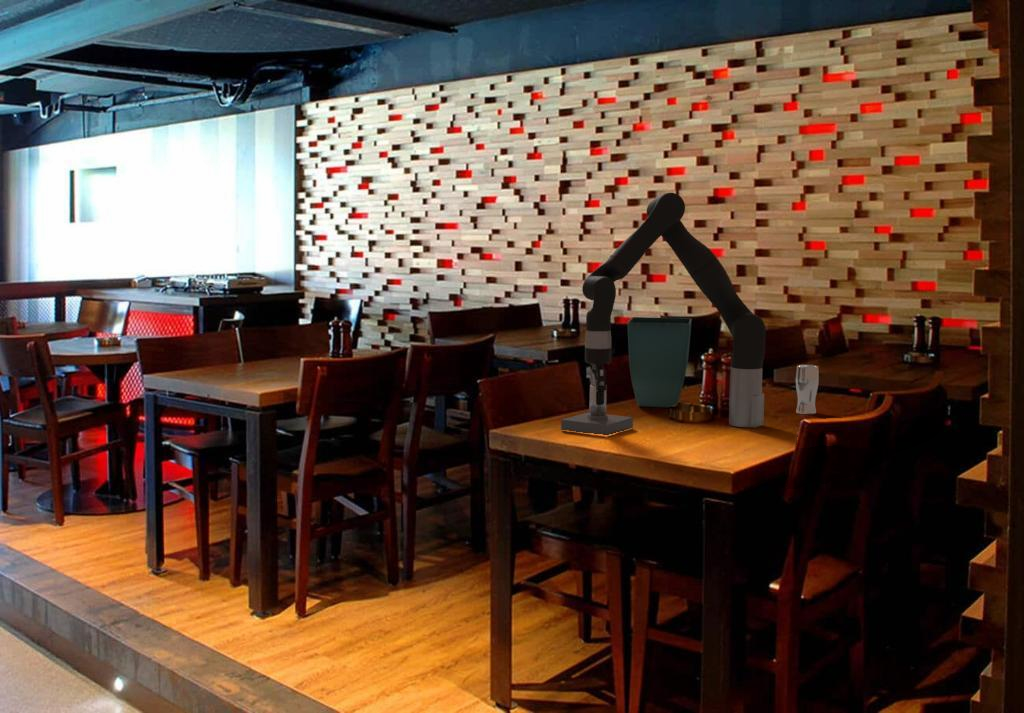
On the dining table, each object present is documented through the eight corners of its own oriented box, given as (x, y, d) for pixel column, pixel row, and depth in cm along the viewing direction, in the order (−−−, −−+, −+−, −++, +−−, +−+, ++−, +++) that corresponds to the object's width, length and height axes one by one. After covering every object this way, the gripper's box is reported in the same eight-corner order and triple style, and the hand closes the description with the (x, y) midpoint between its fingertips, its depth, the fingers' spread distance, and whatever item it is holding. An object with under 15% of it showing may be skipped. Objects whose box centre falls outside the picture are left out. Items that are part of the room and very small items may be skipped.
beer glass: (815, 411, 327) (816, 364, 325) (819, 414, 320) (821, 367, 319) (792, 410, 328) (794, 364, 326) (796, 414, 321) (798, 367, 319)
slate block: (632, 431, 296) (632, 417, 295) (606, 439, 284) (606, 425, 283) (588, 425, 304) (588, 412, 304) (561, 433, 292) (561, 419, 292)
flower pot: (688, 410, 327) (690, 322, 324) (625, 408, 331) (627, 321, 328) (689, 401, 347) (691, 318, 343) (631, 399, 351) (632, 317, 347)
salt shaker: (607, 419, 291) (608, 381, 290) (590, 419, 291) (591, 381, 290) (604, 416, 296) (605, 379, 295) (587, 416, 296) (588, 379, 295)
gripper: (615, 348, 284) (614, 406, 286) (607, 343, 298) (606, 398, 300) (588, 349, 284) (588, 406, 286) (581, 343, 298) (581, 398, 300)
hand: (597, 402), depth 293 cm, fingers open, 8 cm apart
